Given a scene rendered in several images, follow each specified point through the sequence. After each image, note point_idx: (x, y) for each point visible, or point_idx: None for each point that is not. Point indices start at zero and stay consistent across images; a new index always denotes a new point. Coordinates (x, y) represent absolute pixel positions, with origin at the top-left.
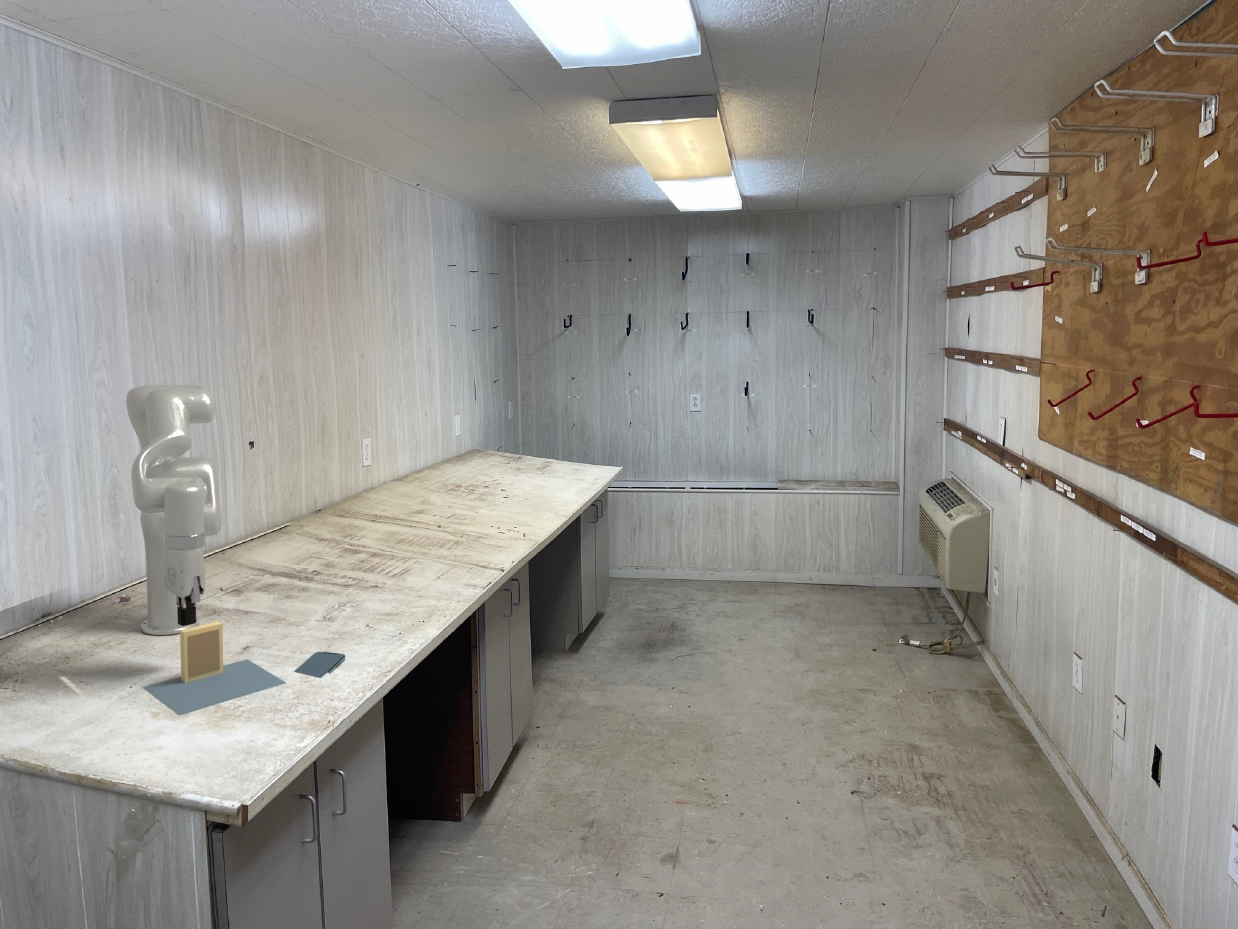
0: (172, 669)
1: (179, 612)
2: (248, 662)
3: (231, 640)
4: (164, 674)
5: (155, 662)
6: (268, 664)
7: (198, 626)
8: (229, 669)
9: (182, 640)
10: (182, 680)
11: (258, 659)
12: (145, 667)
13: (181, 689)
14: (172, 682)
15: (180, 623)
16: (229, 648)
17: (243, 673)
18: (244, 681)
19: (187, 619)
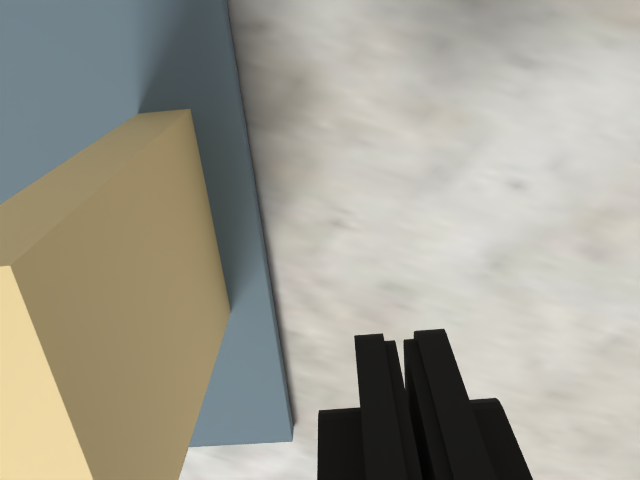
0: (445, 132)
1: (429, 458)
2: (248, 433)
3: (611, 467)
4: (400, 68)
5: (629, 84)
6: (222, 477)
7: (64, 449)
8: None
9: (14, 219)
10: (171, 110)
11: (303, 469)
12: (597, 4)
13: (43, 63)
14: (180, 53)
15: (370, 348)
16: (520, 431)
17: None
18: None
19: (321, 439)
